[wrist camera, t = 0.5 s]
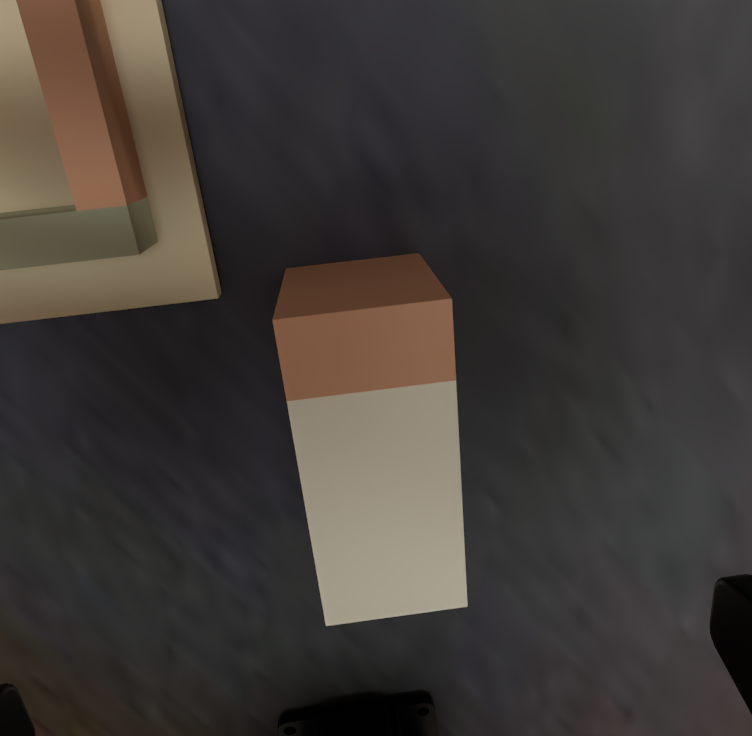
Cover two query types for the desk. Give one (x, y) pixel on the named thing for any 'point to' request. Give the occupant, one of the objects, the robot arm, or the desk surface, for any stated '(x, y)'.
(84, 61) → the slot holder
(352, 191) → the desk surface
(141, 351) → the desk surface
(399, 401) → the banded block
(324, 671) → the desk surface
